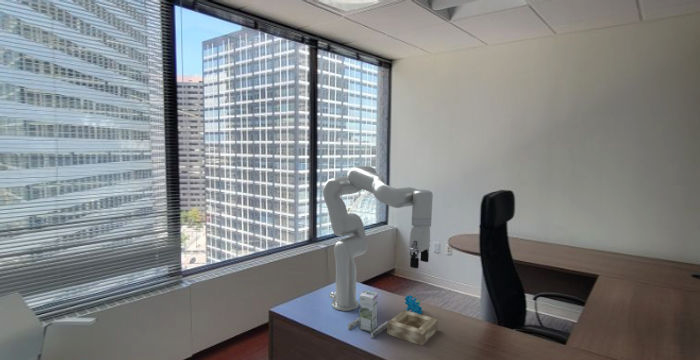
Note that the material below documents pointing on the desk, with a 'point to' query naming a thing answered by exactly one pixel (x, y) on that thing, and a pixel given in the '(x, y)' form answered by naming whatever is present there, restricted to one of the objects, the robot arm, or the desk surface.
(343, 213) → the robot arm
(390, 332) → the beige square tray
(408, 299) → the gear
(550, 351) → the desk surface
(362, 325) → the syrup box
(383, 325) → the stand rails
